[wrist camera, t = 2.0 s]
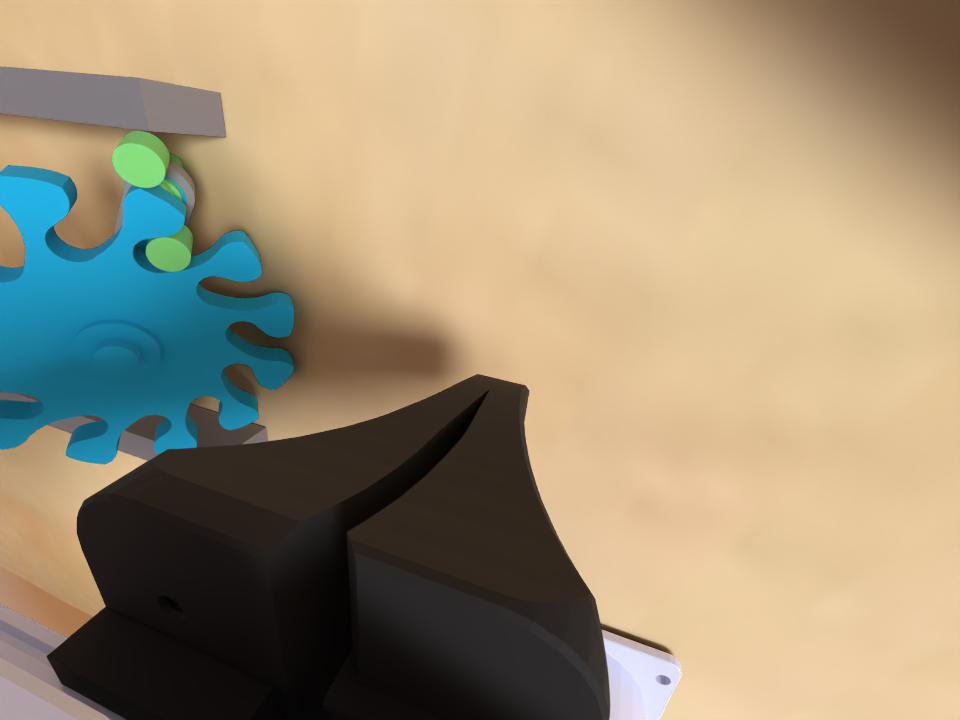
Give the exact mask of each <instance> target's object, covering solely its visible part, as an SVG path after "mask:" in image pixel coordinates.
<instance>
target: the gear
mask: <svg viewBox="0 0 960 720" xmlns="http://www.w3.org/2000/svg"><path fill="white" fill-rule="evenodd" d="M112 163H113V166H114V169H115V170H116V172H117V173H118V175H119V176H120V177H121V178H122V179H124V180H125V183H124V191H123V195H122V199H121V204H120V208H119V212H118V217H117V221H116V225H115V230H114V234H113V236H112V237H111V238H110V239H108V240H107V241H106V242H104V243H103V244H101V245H100V246H98V247H96V248H93V249H79V248H76V247H72V246H70V245H68V244H66V243H65V242H64V241H62V240H61V239H60V238H59V237H58V236H57V234H56V232H55V230H54V225H55V224H56V223H58V222H59V221H61V220H62V219H63V218H64V217H65V216H66V215H67V214H68V212H69V211H70V209H71V208H72V206H73V205H74V203H75V202H76V200H77V189H76V187H75V184H74V182H73V181H72V180H71V178H70V177H68V176H66V175H63V174H61V173H58V172H54V171H50V170H46V169H41V168H34V167H25V166H11V165H8V166H7V167H5V168H4V169H3V170H2V171H1V172H0V205H1V206H2V207H3V208H4V210H5V211H6V212H7V213H8V214H9V215H10V216H11V218H12V219H13V220H14V222H15V223H16V225H17V226H18V228H19V230H20V232H21V235H22V237H23V240H24V244H25V263H24V266H23V267H20V268H7V267H3V266H0V392H8V393H17V394H25V395H29V396H32V397H34V398H36V399H38V400H39V401H36V402H24V401H15V400H0V449H9V448H13V447H16V446H19V445H21V444H22V443H24V442H25V441H26V440H27V438H28V437H29V436H30V435H31V434H32V433H34V432H35V431H36V430H38V429H40V428H41V427H43V426H45V425H48V424H50V423H53V422H56V421H59V420H63V419H67V418H72V417H77V416H83V415H92V416H97V417H100V418H102V419H104V420H100V421H96V422H91V423H87V424H83V425H81V426H79V427H77V428H76V429H75V430H74V431H73V433H72V436H71V439H70V442H69V444H68V447H67V450H66V456H68V457H70V458H73V459H76V460H80V461H84V462H90V463H97V464H107V463H109V462H111V461H112V460H113V459H114V458H115V457H116V454H117V450H118V446H119V442H120V437H121V434H122V432H123V431H124V430H125V429H126V428H128V427H129V426H130V425H131V424H133V423H134V422H136V421H137V420H138V419H140V418H142V417H144V416H147V415H161V416H164V417H166V418H167V419H165V420H164V421H162V422H161V423H160V424H159V425H158V426H157V428H156V432H155V439H154V446H153V448H154V451H155V452H156V453H157V454H160V453H162V452H164V451H165V450H167V449H182V448H196V447H197V436H198V427H197V425H196V424H195V423H194V422H193V421H192V419H191V418H190V416H189V415H188V412H187V410H188V407H189V404H190V403H191V402H192V401H193V400H194V399H196V398H198V397H202V396H211V397H215V398H217V399H219V400H220V402H219V423H220V425H221V426H222V427H223V428H225V429H227V430H233V429H237V428H240V427H243V426H245V425H248V424H250V423H252V422H253V421H255V420H257V419H258V417H259V415H258V403H257V399H256V398H255V396H254V395H252V394H251V393H248V392H245V391H243V390H241V389H240V388H238V387H236V386H235V385H234V384H233V383H232V382H231V381H230V380H229V379H228V378H227V376H226V374H225V372H224V368H225V367H227V366H229V365H231V364H245V365H248V366H249V367H251V368H252V369H253V371H254V374H255V377H256V379H257V381H258V383H259V384H260V385H261V386H263V387H265V388H267V389H277V388H279V387H280V386H281V385H283V384H284V383H285V382H286V381H287V379H288V378H289V377H290V376H291V374H292V373H293V371H294V364H293V359H292V356H291V355H290V353H289V352H287V351H286V350H283V349H279V348H267V347H261V346H258V345H254V344H252V343H249V342H247V341H245V340H244V339H242V338H240V337H239V336H238V335H236V334H235V333H234V332H232V331H231V330H230V329H229V328H228V327H229V326H230V325H231V324H233V323H235V322H240V321H245V322H250V323H252V324H254V325H256V326H257V327H258V328H259V329H261V330H262V331H263V332H264V333H266V334H267V335H270V336H273V337H286V336H289V335H290V334H291V332H292V330H293V325H294V308H293V303H292V299H291V296H289V295H288V294H285V293H280V292H275V293H270V294H267V295H264V296H260V297H255V298H233V297H228V296H224V295H220V294H216V293H212V292H209V291H207V290H205V289H204V288H203V287H202V286H201V285H200V284H199V282H200V281H201V280H202V279H204V278H206V277H210V276H218V277H223V278H226V279H230V280H233V281H238V282H249V281H253V280H255V279H257V278H259V277H260V276H261V275H262V267H261V261H260V256H259V254H258V252H257V249H256V248H255V246H254V245H253V243H252V241H251V240H250V239H249V238H248V236H247V235H246V234H245V232H244V231H231V232H228V233H226V234H224V235H223V236H222V237H221V238H220V239H219V240H218V241H217V242H216V244H214V245H213V246H212V247H211V248H209V249H208V250H206V251H204V252H203V253H201V254H198V255H195V256H192V257H191V253H192V245H193V235H192V233H191V231H190V230H189V228H188V223H189V220H190V216H191V213H192V210H193V208H194V204H195V197H196V189H195V185H194V183H193V180H192V179H191V177H190V176H189V174H188V173H187V172H186V171H185V170H184V169H183V164H182V162H181V160H180V159H179V158H178V157H177V156H176V155H174V154H171V153H169V152H168V149H167V147H166V146H165V144H164V143H163V142H162V141H161V140H160V139H159V138H157V137H156V136H154V135H152V134H150V133H148V132H144V131H132V132H130V133H128V134H126V135H125V136H124V137H123V139H122V140H121V142H120V143H119V145H118V146H117V148H116V149H115V151H114V153H113V156H112Z"/></svg>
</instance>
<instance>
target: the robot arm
mask: <svg viewBox="0 0 960 720" xmlns="http://www.w3.org/2000/svg"><path fill="white" fill-rule="evenodd" d="M528 396H529V390H528V388H527V387H526V386H525V385H521V384H517V383H513V382H508V381H504V380H500V379H496V378H492V377H487V376H483V375H479V374H477V375H475V376H472V377H470V378H468V379H466V380H464V381H462V382H460V383H458V384H456V385H453V386H451V387H449V388H447V389H445V390H443V391H441V392H439V393H437V394H435V395H432V396H430V397H428V398H426V399H424V400H421V401H419V402H416V403H414V404H411V405H409V406H407V407H404V408H402V409H399V410H397V411H394V412H392V413H389V414H386V415H383V416H380V417H377V418H374V419H371V420H368V421H364V422H361V423H358V424H354V425H351V426H347V427H343V428H338V429H333V430H329V431H324V432H320V433H315V434H310V435H306V436H301V437H295V438H288V439H282V440H275V441H267V442H259V443H251V444H241V445H230V446H214V447H199V448H182V449H167V450H165V451H164V452H162V453H160V454H159V455H157V456H155V457H154V458H152V459H151V460H149V461H147V462H146V463H144V464H142V465H141V466H139V467H138V468H136V469H134V470H133V471H131V472H129V473H128V474H126V475H125V476H123V477H121V478H120V479H118V480H117V481H115V482H113V483H112V484H110V485H108V486H107V487H105V488H104V489H102V490H100V491H99V492H97V493H95V494H94V495H92V496H91V497H89V498H87V499H86V500H84V502H83V504H82V506H81V508H80V510H79V512H78V516H77V535H78V538H79V541H80V545H81V548H82V551H83V553H84V556H85V558H86V560H87V563H88V565H89V567H90V570H91V572H92V575H93V577H94V579H95V582H96V584H97V586H98V589H99V591H100V594H101V596H102V598H103V601H104V603H105V605H106V607H105V608H104V609H102V610H101V611H100V612H99V613H98V614H96V615H95V616H94V617H93V618H92V619H90V620H89V621H88V622H87V623H86V624H84V625H83V626H82V627H81V628H80V629H78V630H77V631H76V632H75V633H74V634H72V635H71V636H70V637H69V638H66V637H64V636H62V635H60V634H58V633H56V632H54V631H52V630H50V629H48V628H46V627H44V626H42V625H41V624H39V623H37V622H35V621H33V620H31V619H29V618H27V617H25V616H23V615H21V614H19V613H17V612H15V611H13V610H11V609H9V608H7V607H5V606H4V605H1V604H0V720H659V719H660V717H661V715H662V713H663V711H664V709H665V707H666V705H667V703H668V701H669V699H670V697H671V695H672V693H673V691H674V689H675V687H676V685H677V683H678V681H679V679H680V677H681V674H682V671H681V663H680V661H679V660H678V659H677V658H676V657H675V656H673V655H671V654H668V653H666V652H663V651H660V650H657V649H655V648H652V647H649V646H646V645H643V644H641V643H638V642H635V641H632V640H630V639H627V638H624V637H621V636H618V635H616V634H613V633H610V632H607V631H605V630H602V629H601V624H600V619H599V615H598V610H597V605H596V601H595V598H594V596H593V595H592V593H591V592H590V590H589V588H588V587H587V585H586V584H585V582H584V581H583V579H582V578H581V576H580V575H579V573H578V571H577V570H576V568H575V566H574V565H573V563H572V561H571V560H570V558H569V556H568V554H567V552H566V551H565V549H564V547H563V545H562V543H561V541H560V539H559V537H558V536H557V534H556V531H555V529H554V527H553V525H552V522H551V520H550V518H549V516H548V513H547V511H546V509H545V507H544V505H543V502H542V500H541V497H540V494H539V491H538V488H537V485H536V482H535V479H534V476H533V472H532V469H531V465H530V460H529V456H528V450H527V445H526V438H525V428H524V420H525V414H526V408H527V402H528Z"/></svg>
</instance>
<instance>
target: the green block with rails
mask: <svg viewBox="0 0 960 720" xmlns="http://www.w3.org/2000/svg"><path fill="white" fill-rule="evenodd" d="M0 113H2V114H11V115H19V116H27V117H36V118H44V119H52V120H61V121H69V122H77V123H86V124H94V125H102V126H111V127H119V128H127V129H136V130H144V131H154V132H167V133H180V134H193V135H206V136H218V137H226V132H225V125H224V118H223V110H222V103H221V96H220V93H218V92H213V91H207V90H202V89H196V88H191V87H185V86H180V85H174V84H169V83H164V82H158V81H153V80H147V79H142V78H134V77H122V76H109V75H97V74H85V73H73V72H61V71H49V70H37V69H24V68H12V67H0ZM0 400H15V401H24V402H36V401H39V400H38V399H36V398H34V397H32V396H29V395H25V394H17V393H8V392H0ZM187 412H188V415H189V416H190V418H191V419H192V421H193V422H194V423H195V424H196V425H197V427H198V436H197V447H196V448H199V447H214V446H230V445H241V444H251V443H259V442H267V434H266V427H263V426H259V425H256V424H253V423H250V424H248V425H245V426H243V427H240V428H237V429H233V430H227V429H225V428H223V427H222V426H221V425H220V423H219V413H217V412H214V411H210V410H207V409H204V408H201V407H197V406H194V405H191V404H189V407H188V410H187ZM165 419H167V418H166V417H164V416H161V415H147V416H144V417H142V418H140V419H138V420H137V421H136V422H134V423H133V424H131V425H130V426H129V427H128V428H126V429H125V430H124V431H123V432H122V434H121V437H120V442H119V446H118V450H119V451H122V452H125V453H128V454H130V455H133V456H136V457H139V458H142V459H144V460H147V461H149V460H151V459H152V458H154V457H155V456H157V455H159V454H157V453H156V452H155V451H154V448H153V446H154V439H155V432H156V428H157V426H158V425H159V424H160V423H161V422H162V421H164V420H165ZM100 420H104V419H102V418H100V417H97V416H92V415H83V416H77V417H72V418H67V419H63V420H59V421H56V422H53V423H50V424H48V425H49V426H52V427H55V428H57V429H60V430H63V431H66V432H69V433H73V431H74V430H75V429H76V428H77V427H79V426H81V425H83V424H87V423H91V422H96V421H100Z"/></svg>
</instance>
